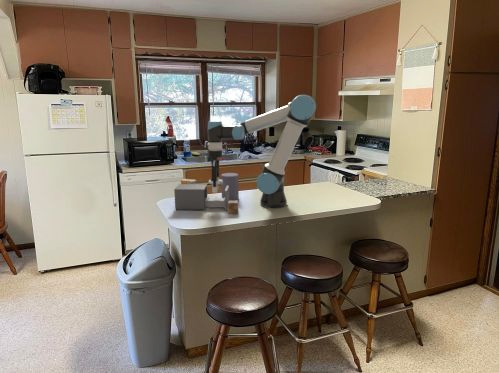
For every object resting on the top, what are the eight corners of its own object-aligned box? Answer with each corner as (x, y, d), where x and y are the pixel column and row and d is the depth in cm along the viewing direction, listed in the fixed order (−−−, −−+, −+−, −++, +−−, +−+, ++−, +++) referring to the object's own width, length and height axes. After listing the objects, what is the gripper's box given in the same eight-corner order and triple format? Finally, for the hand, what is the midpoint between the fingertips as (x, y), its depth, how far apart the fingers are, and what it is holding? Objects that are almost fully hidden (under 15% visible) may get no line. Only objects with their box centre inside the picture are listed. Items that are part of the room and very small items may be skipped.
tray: (229, 204, 217) (228, 185, 214) (227, 210, 205) (226, 190, 203) (202, 204, 217) (201, 185, 215) (199, 210, 206) (198, 190, 203)
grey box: (207, 204, 217) (206, 184, 215) (204, 210, 206) (203, 189, 203) (180, 204, 218) (179, 184, 215) (175, 210, 206) (174, 189, 203)
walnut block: (238, 211, 205) (238, 200, 203) (237, 213, 200) (237, 203, 198) (229, 211, 205) (228, 200, 203) (228, 213, 200) (228, 203, 198)
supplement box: (181, 201, 224) (180, 180, 221) (185, 199, 228) (184, 178, 225) (193, 202, 221) (192, 181, 218) (197, 200, 225) (196, 179, 222)
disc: (223, 182, 212) (223, 179, 212) (222, 185, 204) (222, 182, 204) (209, 181, 212) (209, 179, 212) (207, 185, 204) (207, 182, 204)
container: (220, 197, 233) (219, 173, 229) (236, 195, 236) (235, 172, 232) (224, 201, 223) (223, 176, 220) (240, 200, 226) (240, 175, 223)
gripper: (210, 147, 214) (211, 186, 219) (205, 152, 194) (206, 195, 199) (224, 147, 214) (224, 186, 219) (219, 152, 194) (220, 195, 199)
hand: (215, 190), depth 209 cm, fingers closed on disc, 8 cm apart
